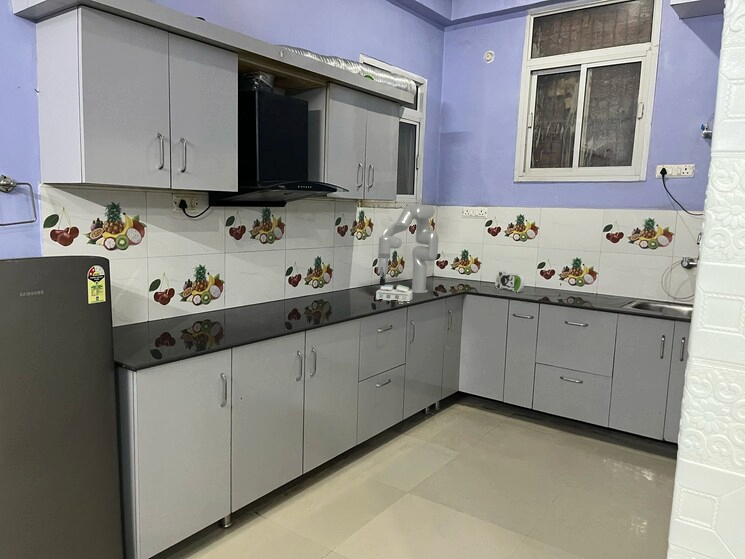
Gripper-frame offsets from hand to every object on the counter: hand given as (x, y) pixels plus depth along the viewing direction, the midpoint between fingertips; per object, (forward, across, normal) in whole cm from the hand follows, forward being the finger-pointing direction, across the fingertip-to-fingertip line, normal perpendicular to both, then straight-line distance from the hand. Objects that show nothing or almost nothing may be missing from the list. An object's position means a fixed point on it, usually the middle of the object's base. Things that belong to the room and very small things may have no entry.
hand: (382, 285), depth 351 cm
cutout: (+6, -72, +81) cm, 108 cm away
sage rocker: (+1, -1, +13) cm, 13 cm away
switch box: (+8, -1, +8) cm, 12 cm away
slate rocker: (+1, -1, +3) cm, 3 cm away
